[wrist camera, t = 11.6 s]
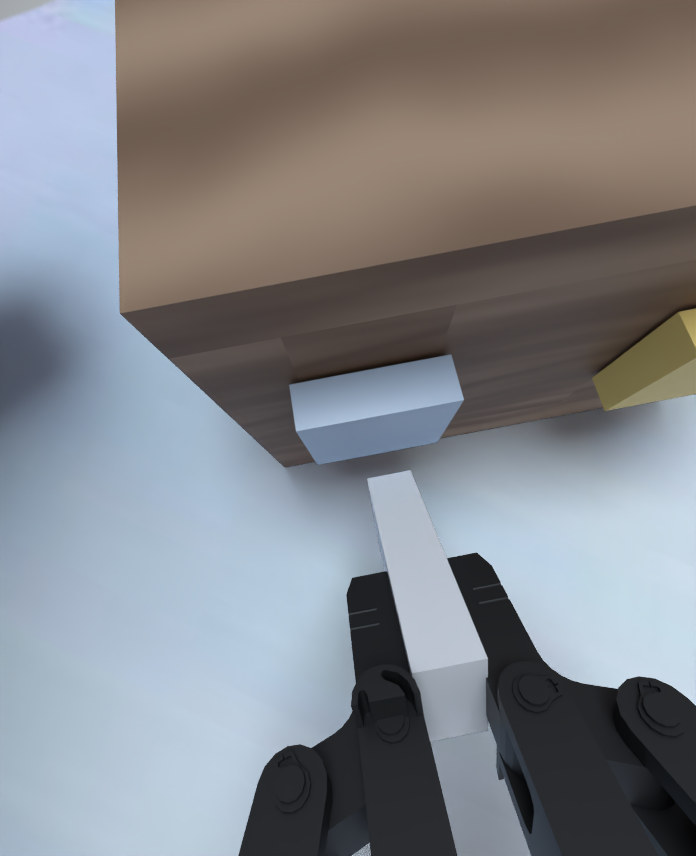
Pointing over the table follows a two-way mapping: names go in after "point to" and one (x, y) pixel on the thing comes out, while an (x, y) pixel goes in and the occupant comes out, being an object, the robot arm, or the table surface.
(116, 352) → the table surface
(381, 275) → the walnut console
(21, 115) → the table surface
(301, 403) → the slate-blue button
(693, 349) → the ochre button
